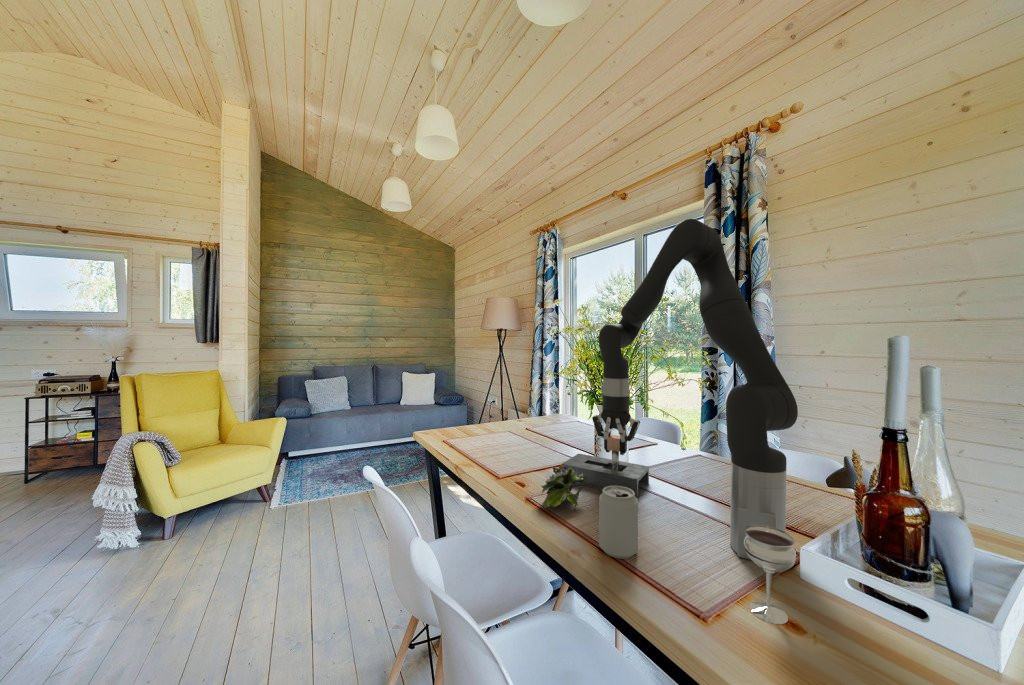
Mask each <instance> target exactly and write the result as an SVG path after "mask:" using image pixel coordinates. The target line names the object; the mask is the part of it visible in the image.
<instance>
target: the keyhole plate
mask: <svg viewBox="0 0 1024 685" xmlns="http://www.w3.org/2000/svg"><path fill="white" fill-rule="evenodd" d="M561 466H567V468H566V469H570V468H572V470H573V469H574V470H576V471H577V473H578V475H581V474H584V476H585V474H586V476H587V479H586V481H585V483H584V485H583V486H582V487H587V488H593V489H597V490H601V491H603V489H604V488H605V487H607V486H623V487H627V488H629V489H631V490H633V491H634V493H635V497H636V498H637V499H638V498H639V484H643V485H649V484H650V466H648V465H643V464H637V463H632V462H627V461H621V460H619V471H615V470H612V458H611V459H609V458H606V457H600V456H595V455H590V454H589V455H588V454H583V453H577V454H575V455H573V456H572V457H570V458H569V459H567V460H566V461H564V462H562V463H561ZM566 469H565V471H566ZM562 472H563V471H562ZM578 475H577V477H579V476H578ZM583 482H584V481H583ZM583 482H579V483H580V484H579V485H578V486H581V485H582V484H583Z"/></svg>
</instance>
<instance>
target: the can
mask: <svg viewBox="0 0 1024 685" xmlns="http://www.w3.org/2000/svg"><path fill="white" fill-rule="evenodd" d="M598 499H599V500H598V501H599V502H598V504H599V505H598V509H599V510H598V513H599V514H598V545H599V547H600V549H601V550H602V551H603V552H604V553H605V554H606V555H607V556H610V557H611V558H615V559H621V560H622V559H624V560H625V559H629V558H631V557H633V555H635V554H637V552H638V551H639V549H638V548H639V500H638V498H636V497H635V493H634V491H633V490H631V489H629V488H627V487H623V486H607V487H605V488H604V489H603V490H602V493H600V495H599V497H598Z"/></svg>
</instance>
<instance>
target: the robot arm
mask: <svg viewBox="0 0 1024 685" xmlns="http://www.w3.org/2000/svg"><path fill="white" fill-rule="evenodd" d="M683 260H684V261H686V262H688V263H689V264H690V265H691V266H692V268H693V270H694V272H695V274H696V276H697V278H698V281H699V284H700V293H699V302H698V307H699V312H700V315H701V318H702V321H703V322H702V323H703V324H704V326H705V330H706V331H707V332H706V333H708V336H709V337H710V339H711V340H712V342H714V344H715V345H716V346H717V347H718V348H720V350H722V352H724V353H725V354H726V355H727V356H728V357H729V358H730V359H731V360H732V361H733V362H734V363H735V364H736V365H737V366H738V368H739V369H740V371H741V372H742V374H743V375H744V376H743V377H744V378H745V380H746V382H747V384H745V383H744V384H739V385H735V386H733V387H732V389H731V390H729V393H728V395H727V398H726V404H725V417H726V418H725V420H726V423H725V424H726V441H727V442H726V443H727V446H728V449H729V452H730V457H731V458H730V465H731V466H730V468H731V469H730V471H731V472H730V521H729V522H730V525H729V526H730V528H729V529H730V536H729V537H730V540H729V542H730V548H732V551H734V552H735V553H736V556H737V557H738V558H743V559H745V560H749V561H752V560H751V559H750V557H749V556H748V555H747V553H746V551H745V548H744V539H745V537H746V533H745V531H744V529H745V527H747V526H750V525H763V526H769V527H773V528H776V529H779V530H781V531H784V532H786V524H787V523H786V522H787V521H786V520H787V518H786V517H787V516H786V514H787V511H786V510H787V457H786V455H785V453H784V452H782V451H781V450H779V449H776V448H773V447H770V446H769V442H768V441H769V440H768V439H769V438H768V432H773V431H782V430H783V431H784V430H787V429H788V430H789V429H790V428H792V427H793V426H795V424H796V422H797V419H798V415H799V409H798V403H797V400H796V397H795V396H794V394H793V392H792V390H791V388H790V386H789V385H788V383H787V381H786V379H785V378H784V376H783V375H782V372H781V371H780V370H779V368H778V366H777V364H776V363H775V361H774V358H773V357H772V356H771V354H770V352H769V350H768V348H767V345H766V343H765V342H764V339H763V338H762V335H761V332H760V331H759V329H758V327H757V325H756V322H755V319H754V317H753V314H752V313H751V310H750V308H749V305H748V303H747V302H746V299H745V297H744V296H743V294H742V291H741V289H740V287H739V285H738V283H737V280H736V278H735V276H734V275H733V272H732V271H731V269H730V265H729V263H728V260H727V257H726V253H725V250H724V246H723V243H722V240H721V237H720V235H719V234H718V232H717V231H716V230H715V229H714V228H712V227H711V226H709V225H707V224H705V223H704V222H702V221H700V220H698V219H695V218H686V219H684V220H683V219H682V221H680V222H679V223H677V224H676V225H675V226H674V228H673V229H672V230H671V231H670V233H669V235H668V236H667V238H666V240H665V241H664V243H663V245H662V247H661V249H660V250H659V251H658V254H657V256H656V258H655V259H654V260H653V263H652V265H651V266H650V268H649V270H648V271H647V273H646V274H645V277H644V278H643V280H642V281H641V283H640V284H639V286H638V288H637V289H636V290H635V291H634V292H633V294H632V295H631V296H630V298H629V299H628V300H627V301H626V303H625V304H624V305H623V307H622V309H621V311H620V314H621V319H620V321H618V323H608V324H605V325H603V326H602V328H600V331H599V334H598V345H599V351H600V355H601V356H600V357H601V359H602V362H603V371H602V372H603V375H602V376H603V378H602V386H601V387H602V389H601V390H602V391H601V392H602V394H601V396H602V399H601V402H602V403H601V409H602V410H601V411H602V412H601V413H600V414H596V415H594V416H592V417H591V420H592V423H593V425H594V428H595V431H596V434H597V436H598V437H601V438H602V439H603V449H604V451H605V453H611V452H612V450H607V437H608V436H610V435H612V431H613V430H614V429H615V430H617V431H618V435H619V436H620V439H621V442H620V452H619V456H624V455H625V454H626V453H627V451H628V442H631V441H632V440H634V439H635V436H636V434H637V432H638V429H639V427H640V424H641V421H640V420H639V419H635V418H632V416H631V414H630V393H631V390H630V380H629V379H630V378H629V375H630V374H629V372H630V371H629V368H630V367H629V366H630V365H629V360H628V359H627V358H625V357H624V356H623V352H622V349H624V348H627V347H629V345H631V344H632V343H633V342H634V341H635V340H636V338H637V336H638V335H639V333H640V331H641V329H642V327H643V324H644V323H645V322H646V321H647V319H648V318H649V317H650V316H651V315H652V314H653V313H654V311H655V310H656V309H657V308H658V306H659V304H660V302H661V301H662V298H663V295H664V292H665V288H666V286H667V282H668V280H669V278H670V276H671V274H672V272H673V271H674V269H675V268H676V267H677V266H678V265H679V264H680V263H681V262H682V261H683ZM602 420H603V422H604V424H605V425H604V426H605V427H604V426H603V424H602ZM628 424H629V425H630V430H629V432H628V431H627V425H628ZM627 432H628V434H627Z"/></svg>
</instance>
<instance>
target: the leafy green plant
mask: <svg viewBox="0 0 1024 685" xmlns="http://www.w3.org/2000/svg"><path fill="white" fill-rule="evenodd" d="M566 468H567V466H562V465H558V467H556V466H553V467H552V470H553V471H552V472H553V473H554V474H553V473H552V475H551V476H550V475H549V476H548V477H549V478H546V481H545V482H544V483H545V484H543V485H540V487H541V488H542V489H541V490H542V491H541V494H543V493H545V491H546V497H545V498H544V501H543V503H542V504H543V508H544V509H548V508H550V507H552V508H555V507H558V506H560V505H561V504H562V503H563V502H565V500H566V499H567V498H568V501H569V502H570V503H571V504H572V505H574V509H573V510H574V511H576V509H577V507H578V506H579V504H578V499H579V496H580V492H581V490H582V488H583V487H584V486H583V485H584V483H585V481H586V479H587V476H586V474H585V476H584V474H581V475H578V473H577V471H576V470H574V469H573V470H572V468H570V469H566ZM565 469H566V471H565ZM562 471H563V472H562ZM577 475H578V476H579V477H577ZM583 481H584V482H583ZM579 482H583V484H582V485H579V484H580V483H579ZM573 486H580V487H579V489H578V491H577V492H576V493H573V492H571V491H572V489H573Z"/></svg>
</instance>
